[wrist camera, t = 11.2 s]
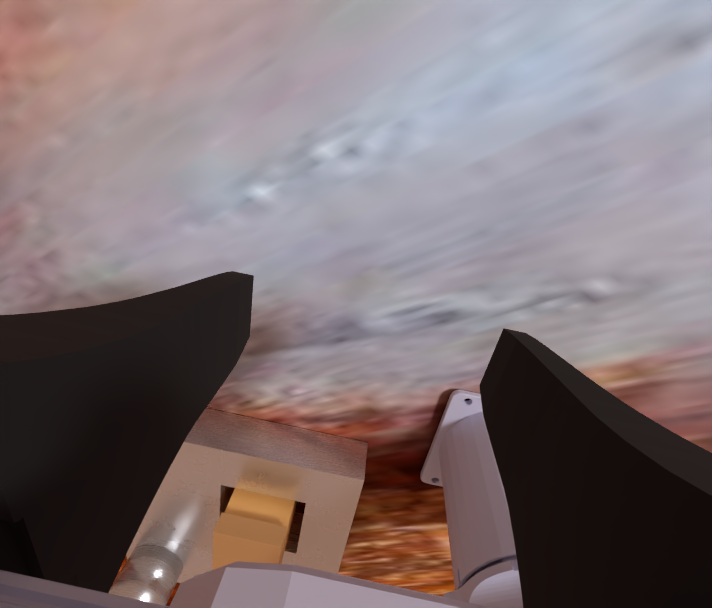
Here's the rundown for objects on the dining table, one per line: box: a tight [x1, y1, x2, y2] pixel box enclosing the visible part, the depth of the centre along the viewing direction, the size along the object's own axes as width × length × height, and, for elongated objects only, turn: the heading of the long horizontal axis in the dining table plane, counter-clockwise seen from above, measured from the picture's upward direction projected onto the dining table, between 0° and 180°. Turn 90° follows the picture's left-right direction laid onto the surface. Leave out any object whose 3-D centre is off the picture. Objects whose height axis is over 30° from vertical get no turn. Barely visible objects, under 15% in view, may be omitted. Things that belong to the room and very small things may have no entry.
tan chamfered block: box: [212, 488, 297, 570], centre depth 26 cm, size 4×5×6 cm
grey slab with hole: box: [109, 408, 368, 606], centre depth 26 cm, size 16×16×7 cm
